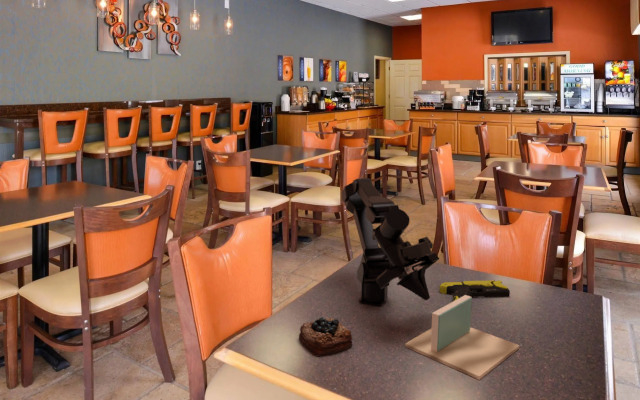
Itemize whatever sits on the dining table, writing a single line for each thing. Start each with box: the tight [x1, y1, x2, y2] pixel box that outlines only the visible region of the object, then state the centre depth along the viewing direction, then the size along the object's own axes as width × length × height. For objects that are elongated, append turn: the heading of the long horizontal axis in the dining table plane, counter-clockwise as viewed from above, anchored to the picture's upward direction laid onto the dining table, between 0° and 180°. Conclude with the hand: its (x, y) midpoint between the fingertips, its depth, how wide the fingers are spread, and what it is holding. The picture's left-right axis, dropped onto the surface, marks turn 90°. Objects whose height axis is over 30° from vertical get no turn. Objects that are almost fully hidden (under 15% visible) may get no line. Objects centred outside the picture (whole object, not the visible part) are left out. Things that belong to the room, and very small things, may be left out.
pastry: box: [298, 316, 353, 357], centre depth 119 cm, size 11×12×6 cm
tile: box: [431, 295, 473, 352], centre depth 117 cm, size 2×14×9 cm, turn 134°
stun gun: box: [438, 279, 511, 308], centre depth 143 cm, size 3×19×15 cm
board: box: [404, 326, 520, 381], centre depth 116 cm, size 19×18×1 cm
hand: (427, 299), depth 121 cm, fingers closed
